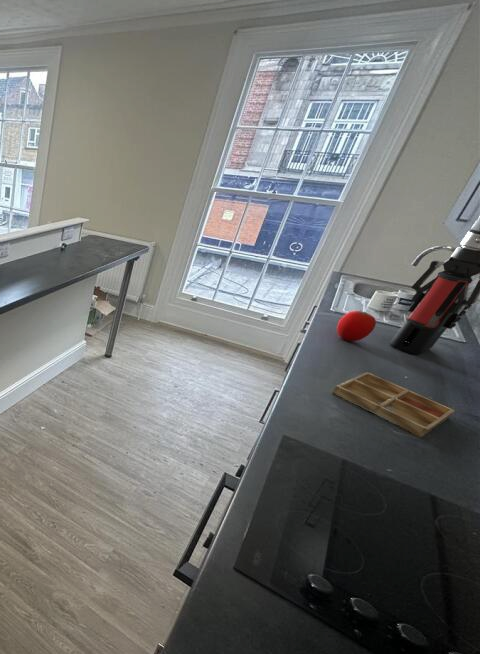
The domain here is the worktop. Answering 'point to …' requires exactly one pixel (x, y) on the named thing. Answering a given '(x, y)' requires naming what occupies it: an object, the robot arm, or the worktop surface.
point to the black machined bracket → (424, 334)
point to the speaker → (437, 300)
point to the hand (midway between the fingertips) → (426, 315)
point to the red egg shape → (355, 325)
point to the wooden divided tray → (394, 403)
